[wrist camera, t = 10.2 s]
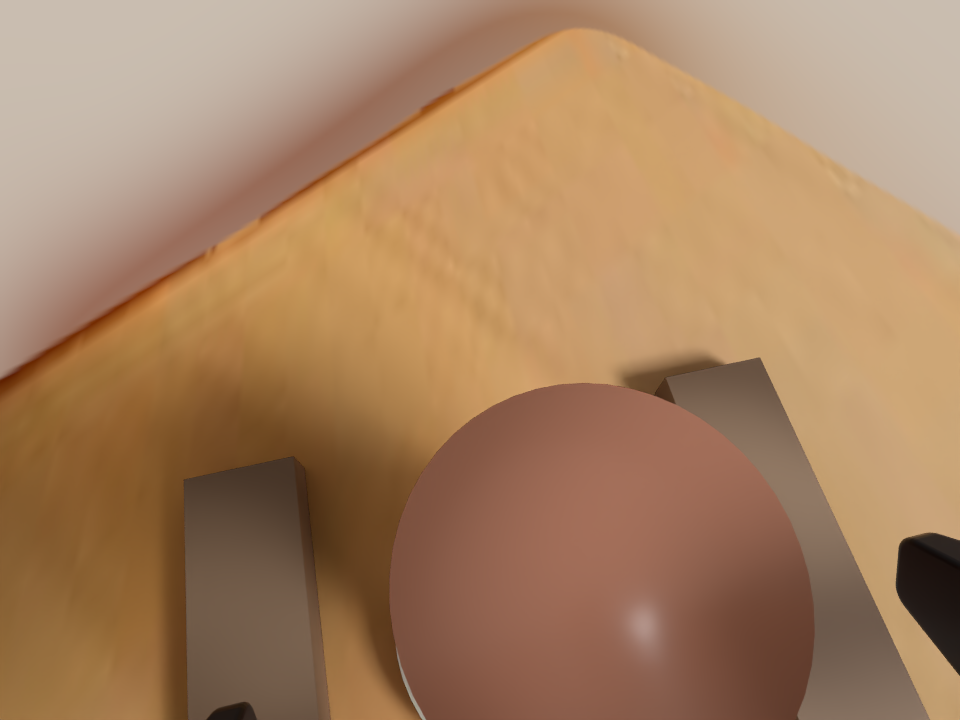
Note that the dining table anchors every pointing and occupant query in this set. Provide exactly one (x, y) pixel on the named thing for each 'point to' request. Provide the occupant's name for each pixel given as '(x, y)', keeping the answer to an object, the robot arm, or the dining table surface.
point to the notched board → (294, 599)
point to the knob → (598, 569)
